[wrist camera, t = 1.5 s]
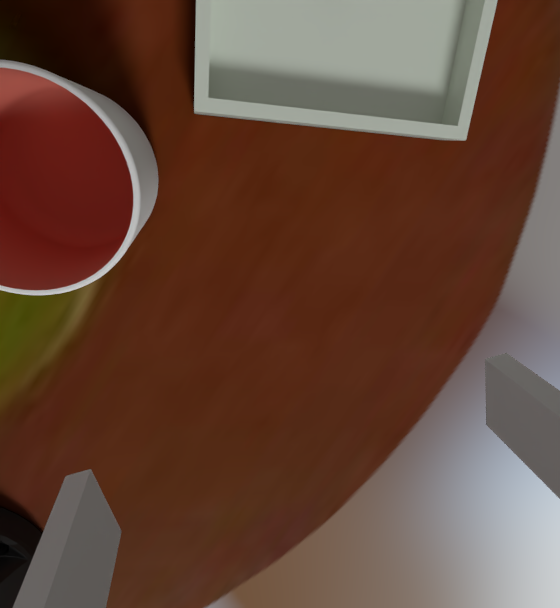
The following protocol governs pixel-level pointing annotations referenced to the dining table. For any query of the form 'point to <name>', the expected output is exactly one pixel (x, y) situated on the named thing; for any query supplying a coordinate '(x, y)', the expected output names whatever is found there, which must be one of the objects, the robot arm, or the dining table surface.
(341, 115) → the tray
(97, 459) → the dining table surface
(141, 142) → the cup
